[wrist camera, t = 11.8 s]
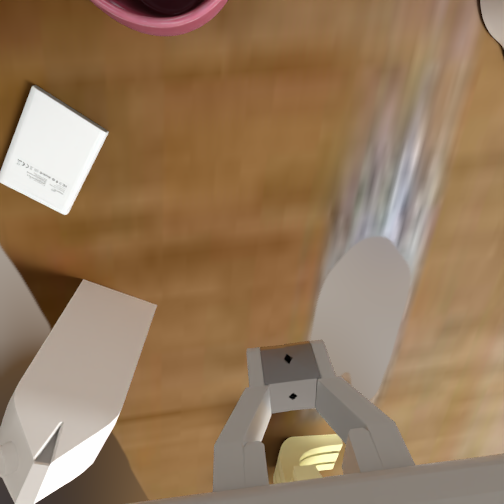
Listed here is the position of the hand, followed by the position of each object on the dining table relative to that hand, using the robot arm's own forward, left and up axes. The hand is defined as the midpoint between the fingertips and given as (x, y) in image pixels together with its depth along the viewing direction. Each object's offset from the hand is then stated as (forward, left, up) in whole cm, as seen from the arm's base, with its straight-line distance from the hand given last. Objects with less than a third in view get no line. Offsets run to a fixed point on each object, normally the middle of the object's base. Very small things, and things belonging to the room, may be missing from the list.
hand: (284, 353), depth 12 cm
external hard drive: (+22, -5, -32) cm, 39 cm away
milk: (+23, +21, -32) cm, 45 cm away
